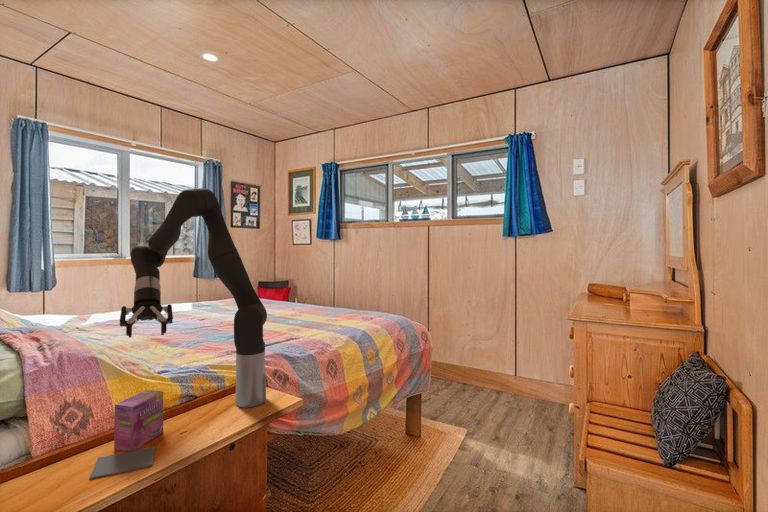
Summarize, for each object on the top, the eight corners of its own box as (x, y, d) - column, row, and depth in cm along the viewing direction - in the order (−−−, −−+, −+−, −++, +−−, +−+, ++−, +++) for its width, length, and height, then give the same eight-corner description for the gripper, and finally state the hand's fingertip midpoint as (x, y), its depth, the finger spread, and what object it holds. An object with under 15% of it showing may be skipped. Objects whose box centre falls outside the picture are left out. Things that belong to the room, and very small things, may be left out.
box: (132, 452, 95) (132, 406, 95) (113, 449, 96) (113, 404, 96) (164, 432, 105) (164, 391, 105) (146, 430, 106) (146, 389, 106)
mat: (155, 447, 97) (155, 446, 97) (152, 466, 89) (152, 464, 89) (98, 459, 91) (98, 457, 91) (89, 479, 83) (89, 478, 83)
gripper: (121, 286, 119) (118, 330, 110) (172, 285, 127) (173, 326, 118) (121, 300, 124) (119, 343, 115) (171, 298, 132) (172, 339, 122)
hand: (146, 335), depth 116 cm, fingers open, 8 cm apart
